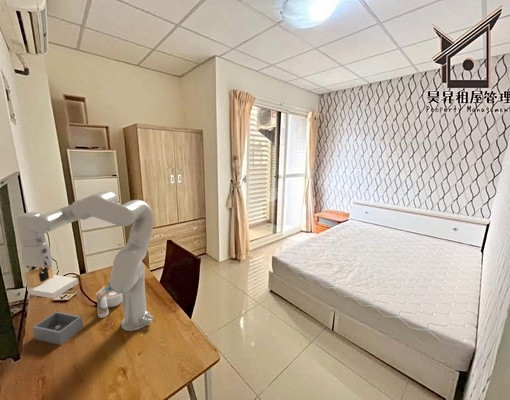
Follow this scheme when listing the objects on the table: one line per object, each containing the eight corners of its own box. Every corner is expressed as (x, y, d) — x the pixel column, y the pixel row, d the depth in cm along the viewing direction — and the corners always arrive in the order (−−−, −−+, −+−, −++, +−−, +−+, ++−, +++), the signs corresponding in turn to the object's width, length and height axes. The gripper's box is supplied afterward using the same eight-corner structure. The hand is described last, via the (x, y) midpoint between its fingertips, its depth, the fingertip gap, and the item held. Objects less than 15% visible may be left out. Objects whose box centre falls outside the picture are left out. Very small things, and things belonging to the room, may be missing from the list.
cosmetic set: (108, 320, 111) (104, 286, 107) (89, 320, 111) (84, 285, 107) (134, 289, 135) (131, 260, 131) (118, 289, 135) (115, 260, 131)
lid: (78, 283, 106) (76, 266, 105) (53, 298, 95) (50, 280, 94) (50, 278, 109) (47, 262, 107) (23, 293, 98) (19, 275, 96)
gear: (99, 298, 126) (119, 292, 129) (96, 288, 125) (117, 283, 128) (105, 288, 136) (123, 284, 140) (102, 279, 135) (121, 275, 139)
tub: (83, 327, 106) (81, 316, 105) (61, 345, 96) (59, 333, 95) (58, 322, 109) (56, 311, 107) (34, 339, 99) (32, 327, 98)
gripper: (58, 239, 101) (64, 277, 105) (27, 236, 103) (34, 272, 107) (40, 246, 93) (47, 286, 97) (7, 242, 96) (15, 281, 100)
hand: (40, 279), depth 102 cm, fingers closed on lid, 4 cm apart
